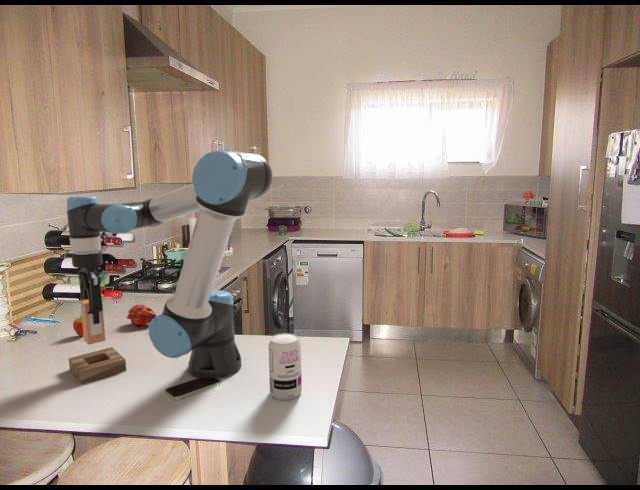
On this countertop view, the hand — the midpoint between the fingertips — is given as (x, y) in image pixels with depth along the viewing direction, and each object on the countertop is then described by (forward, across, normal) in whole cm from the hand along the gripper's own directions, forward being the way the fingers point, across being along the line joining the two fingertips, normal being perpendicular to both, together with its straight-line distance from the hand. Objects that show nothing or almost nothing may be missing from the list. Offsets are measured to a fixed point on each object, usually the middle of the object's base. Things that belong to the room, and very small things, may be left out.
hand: (93, 331), depth 125 cm
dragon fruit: (+12, +30, -24) cm, 40 cm away
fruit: (+12, +33, -4) cm, 35 cm away
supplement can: (+12, -48, -32) cm, 59 cm away
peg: (+3, 0, 0) cm, 3 cm away
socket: (+12, 0, 0) cm, 12 cm away
